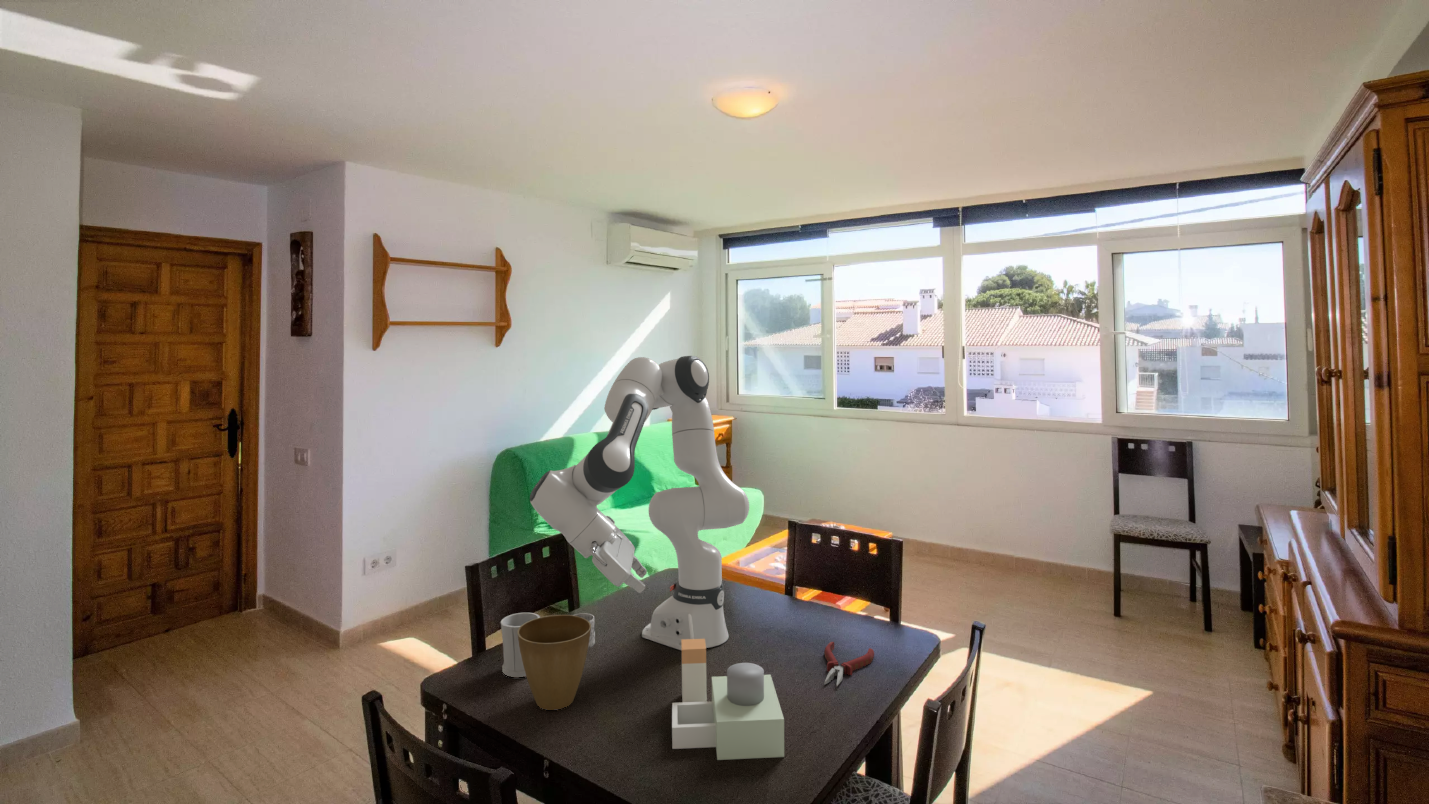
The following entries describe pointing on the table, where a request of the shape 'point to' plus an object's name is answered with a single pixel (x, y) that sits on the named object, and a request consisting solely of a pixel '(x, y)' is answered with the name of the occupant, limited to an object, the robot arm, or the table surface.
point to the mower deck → (733, 717)
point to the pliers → (844, 664)
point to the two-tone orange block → (694, 670)
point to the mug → (591, 620)
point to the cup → (513, 643)
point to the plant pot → (554, 657)
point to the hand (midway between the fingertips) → (643, 581)
